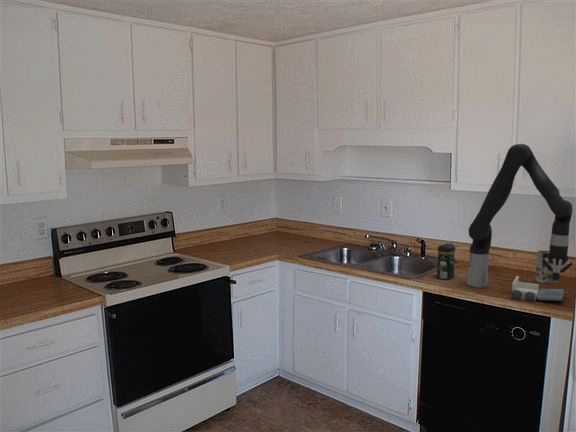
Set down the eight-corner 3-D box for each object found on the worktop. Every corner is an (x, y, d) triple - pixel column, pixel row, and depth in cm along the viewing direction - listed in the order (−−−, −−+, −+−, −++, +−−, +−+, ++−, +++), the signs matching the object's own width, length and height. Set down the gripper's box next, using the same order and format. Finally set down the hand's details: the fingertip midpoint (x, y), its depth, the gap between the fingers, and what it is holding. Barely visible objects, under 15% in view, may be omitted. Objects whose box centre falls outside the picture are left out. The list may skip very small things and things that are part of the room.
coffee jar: (442, 274, 286) (443, 241, 284) (455, 277, 281) (457, 243, 279) (434, 278, 279) (435, 244, 276) (448, 280, 274) (449, 246, 271)
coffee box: (541, 283, 268) (543, 253, 266) (534, 280, 275) (537, 250, 272) (558, 283, 268) (560, 253, 266) (552, 279, 275) (554, 250, 272)
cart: (511, 298, 243) (511, 284, 242) (515, 289, 258) (516, 275, 257) (534, 302, 238) (535, 287, 237) (538, 292, 253) (539, 278, 252)
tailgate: (536, 297, 239) (561, 298, 234) (539, 288, 252) (563, 289, 247) (536, 299, 239) (562, 300, 234) (539, 291, 252) (564, 291, 247)
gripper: (542, 243, 238) (539, 280, 241) (575, 247, 232) (571, 284, 235) (543, 240, 245) (540, 276, 248) (575, 244, 238) (572, 280, 241)
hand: (555, 280), depth 241 cm, fingers closed
